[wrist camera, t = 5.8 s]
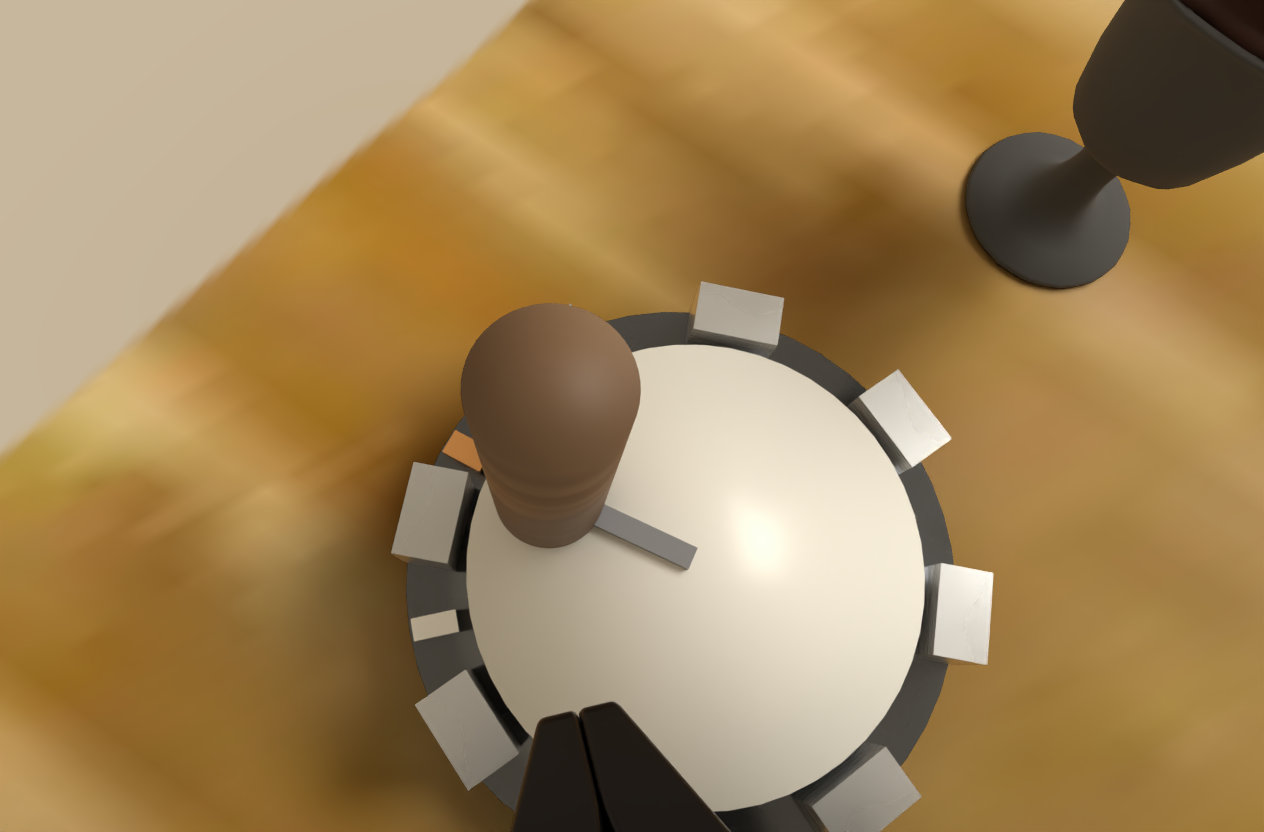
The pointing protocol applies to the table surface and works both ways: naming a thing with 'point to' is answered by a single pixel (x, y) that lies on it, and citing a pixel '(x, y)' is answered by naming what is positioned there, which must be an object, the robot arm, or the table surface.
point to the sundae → (1125, 137)
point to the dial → (686, 550)
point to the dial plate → (495, 740)
